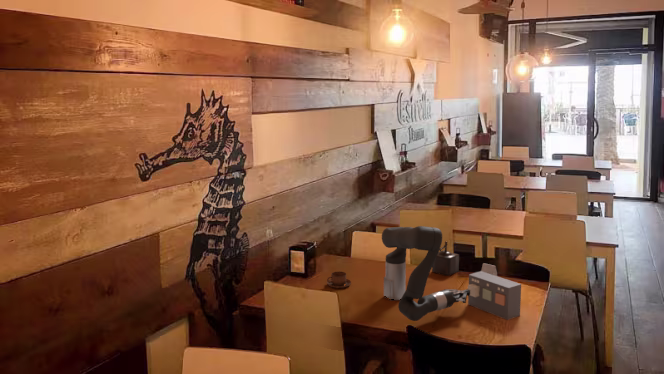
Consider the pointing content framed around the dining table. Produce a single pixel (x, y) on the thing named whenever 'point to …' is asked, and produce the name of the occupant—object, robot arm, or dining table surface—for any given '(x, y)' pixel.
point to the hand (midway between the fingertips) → (468, 291)
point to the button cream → (474, 290)
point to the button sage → (487, 294)
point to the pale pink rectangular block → (489, 269)
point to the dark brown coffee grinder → (446, 262)
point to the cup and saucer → (338, 280)
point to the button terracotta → (500, 299)
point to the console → (496, 285)
